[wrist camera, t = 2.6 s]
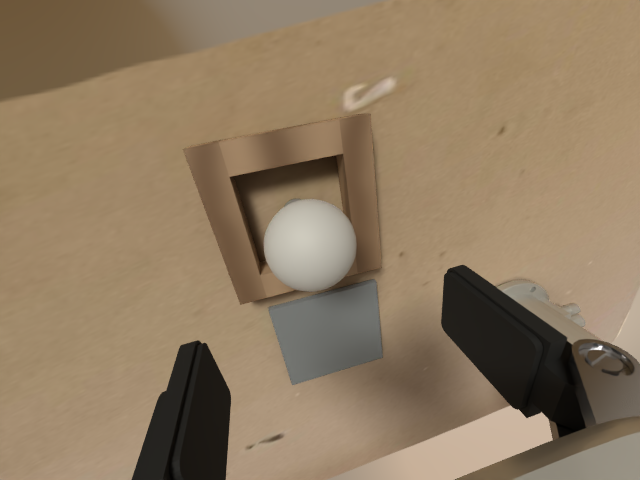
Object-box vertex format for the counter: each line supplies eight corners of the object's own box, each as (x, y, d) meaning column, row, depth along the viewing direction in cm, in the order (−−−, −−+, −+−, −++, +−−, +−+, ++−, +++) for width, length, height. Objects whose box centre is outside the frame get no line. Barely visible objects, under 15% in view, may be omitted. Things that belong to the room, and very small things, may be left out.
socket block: (359, 114, 23) (370, 113, 21) (372, 256, 29) (381, 267, 27) (190, 145, 21) (182, 149, 19) (241, 289, 27) (240, 304, 25)
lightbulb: (315, 245, 27) (348, 317, 17) (254, 231, 25) (252, 303, 15) (336, 187, 25) (387, 232, 15) (272, 167, 23) (283, 202, 13)
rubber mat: (374, 279, 30) (376, 281, 30) (380, 353, 35) (382, 357, 35) (268, 307, 29) (268, 310, 28) (291, 381, 34) (292, 385, 34)
